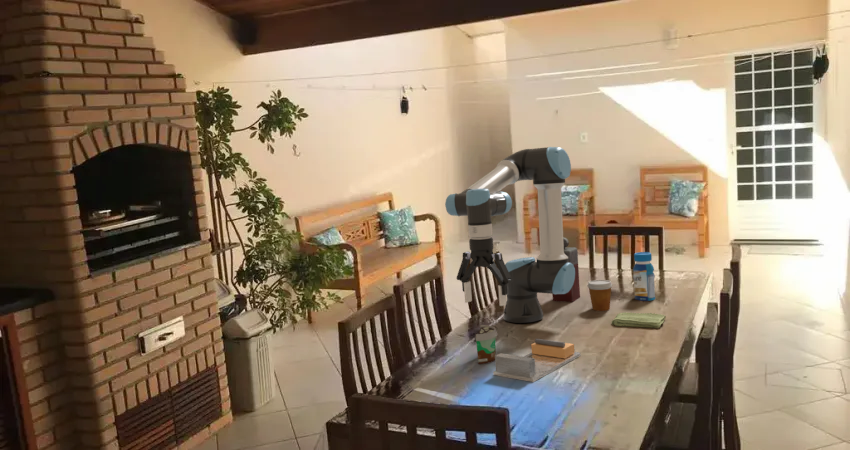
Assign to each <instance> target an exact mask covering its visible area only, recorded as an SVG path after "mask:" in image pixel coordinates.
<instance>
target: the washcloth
mask: <svg viewBox="0 0 850 450" xmlns="http://www.w3.org/2000/svg"><path fill="white" fill-rule="evenodd" d="M666 317H667V315H665V314H662V313H655V312H654V313H652V312H645V313H644V312H643V313H642V312H641V313H639V312H638V313H636V312H619V313H617V314H616V316H615V317H614V318H613V319H612V321H611V325H612V326H615V327H624V328H625V327H627V328H629V327H630V328H647V329H648V328H653V329H660V328H661V325H662V324H664V322H665V319H666Z"/></svg>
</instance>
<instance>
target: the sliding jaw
mask: <svg viewBox="0 0 850 450" xmlns="http://www.w3.org/2000/svg"><path fill="white" fill-rule="evenodd" d="M530 346H531V353H532V354H538V355H545V356H552V357H558V358H567V357H569V356H571V355H572V354H574V352H575V344H574V343H569V342H565V341H557V340H556V341H555V340H548V339H544V338H543V339H540V338H535V340H534V343H531V344H530Z"/></svg>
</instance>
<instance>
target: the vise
mask: <svg viewBox="0 0 850 450" xmlns="http://www.w3.org/2000/svg"><path fill="white" fill-rule="evenodd" d="M581 353H582V352H579V351H574V354H572V355H571V356H569V357H567V358H558V357H552V356H545V355H538V354H532V352H530V353H528V354H526V355H524V356H522V355H521V356H520V355H515V354H507V353H501V352H500V353H498V354H496V356H495V361H494V363H495V364H494V365H495V370H493V373H492V374H493V376H498V377H503V378H509V379H515V380H521V381H527V382H531V383H535V382H536V381H538V380H540V379H542V378H544V377H546V376H547V375H549V374H551V373H552V372H555V370H558V369H560V368H562V367H563V366H565V365H567V364H569V363H570V362H572V361H574V360H576V359H577V358H579V357H581V355H582V354H581Z"/></svg>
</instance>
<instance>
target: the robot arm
mask: <svg viewBox="0 0 850 450" xmlns="http://www.w3.org/2000/svg"><path fill="white" fill-rule="evenodd" d="M571 172H572V164H571V160H570V156H569V154H568V153H567V152H566V150H565V149H564V148H562V147H560V146H548V147H537V148H525V149H521V150H518V151H516V152H513V153H512V154H510V155H508V156H507V157H505V158H503V159H502V160H501V161H499V162H498V163H497V165H496V167H495V168H494V169H493V170H491V171H490V172H488V173H486V174H485V175H484V176H482V177H481V178H480V179H478V180H477V181H476V182H475V183H473V184H472V185H470V186H469V187H468V188H466V189H464V190H462V192H460V193H456V192H455V193H450V194H449V195H448V196H447V197H446V199H445V203H444V204H445V205H444V206H445V210H446V212H447V214H448V215H450V216H454V217H455V216H456V217H467V227H468V228H467V229H468V230H467V231H468V237H469V239H468V243H469V250H470V251H465V252H462V260H461V263H460V265H459V269H458V272H457V275H456V280H457V281H460V282H461V283H462V287H461V288H462V293H463V292H464V303H470V302H472V301H473V298H472V297H473V296H472V294H473V293H472V284H471V280H470V278H471V276H472V275H473V274H474V272H475V271H476V269H477V268H478V267H479V268H480V267H481V268H486V269H488V270H489V271H490V272H491V274H493V276H494V278H495V279H496V280H497V281H498V283H499V284H498V285H497V287H498V300H499V301H498V302H499V307H503V306H505V307H504V311H503V320H504V321H506V322H509V323H515V324H516V323H517V324H518V323H519V324H522V323H525V324H527V323H533V322H534V323H535V322H538V321H540V320H541V321H542V319H544V311H543V309H542V306H541V303H540V301H539V297H538V294H551V295H552V294H555V295H556V294H566V293H568V292H569V291H570V289H571V288H572V286H573V283H574V280H575V268H574V266H573V264H571V263H569V262H568V256H566V255H565V254H564V245H563V238H564V226H563V225H564V224H563V223H564V222H563V201H562V200H563V199H562V187H564V185H565V184H566V179H569V178H570V175H571ZM520 181H532V183H533V184H532V185H533V186H534V188H536V189H537V208H538V225H539V226H538V229H539V231H538V233H539V250H540V252H539V254H538V256H537V257H536V259H535V257H534V256H533V257H532V256H530V257H521V258H516V259H512V260H508V261H507V262H506V263H505V261H504V259H503V254H502V252H498V253H494V252H493V251H494V250H493V249H494V239H493V224H492V217H495V216H503V215H504V214H507V213H509V212H510V210H511V208H512V207H513V201H512V198H511V196H510V195H509V193H507V192H506V191H502V190H503V189H504V188H506V187H507V186H508V185H514V184H515V183H517V182H520ZM470 259H471V262H470Z"/></svg>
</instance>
